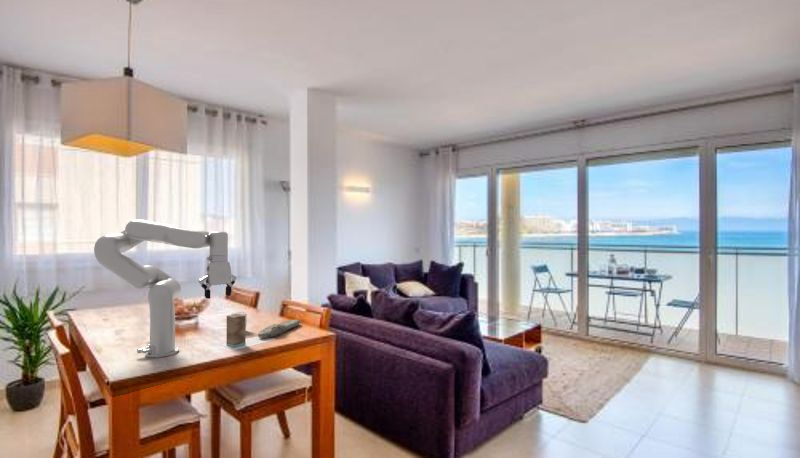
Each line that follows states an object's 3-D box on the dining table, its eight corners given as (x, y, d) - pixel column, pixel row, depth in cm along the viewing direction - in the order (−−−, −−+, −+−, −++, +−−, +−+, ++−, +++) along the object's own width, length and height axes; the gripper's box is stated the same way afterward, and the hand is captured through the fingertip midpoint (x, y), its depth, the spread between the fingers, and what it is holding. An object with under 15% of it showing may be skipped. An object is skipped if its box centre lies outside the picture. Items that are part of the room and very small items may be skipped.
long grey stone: (305, 327, 232) (289, 326, 235) (304, 317, 233) (289, 317, 235) (270, 339, 199) (252, 338, 201) (270, 328, 199) (252, 327, 202)
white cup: (237, 335, 209) (237, 315, 209) (227, 333, 214) (227, 314, 213) (250, 331, 216) (250, 313, 216) (240, 329, 220) (240, 311, 220)
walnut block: (233, 348, 187) (233, 317, 186) (226, 345, 190) (226, 315, 190) (245, 345, 191) (245, 315, 191) (238, 342, 195) (238, 313, 195)
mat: (234, 350, 184) (234, 349, 184) (221, 345, 191) (221, 344, 191) (276, 340, 201) (276, 339, 201) (262, 335, 209) (262, 335, 209)
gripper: (203, 260, 175) (203, 300, 175) (240, 258, 189) (240, 295, 189) (195, 259, 179) (194, 298, 179) (231, 257, 193) (231, 293, 193)
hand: (218, 296), depth 184 cm, fingers open, 9 cm apart
